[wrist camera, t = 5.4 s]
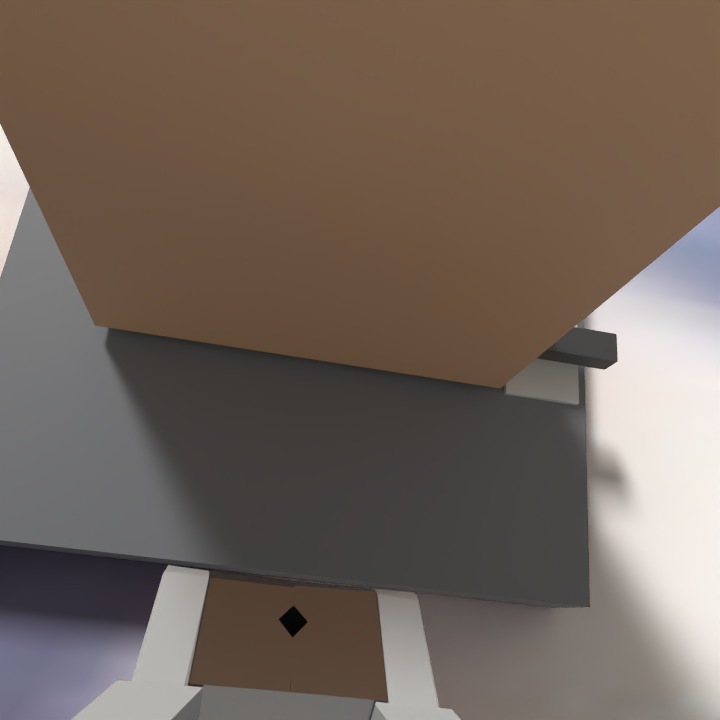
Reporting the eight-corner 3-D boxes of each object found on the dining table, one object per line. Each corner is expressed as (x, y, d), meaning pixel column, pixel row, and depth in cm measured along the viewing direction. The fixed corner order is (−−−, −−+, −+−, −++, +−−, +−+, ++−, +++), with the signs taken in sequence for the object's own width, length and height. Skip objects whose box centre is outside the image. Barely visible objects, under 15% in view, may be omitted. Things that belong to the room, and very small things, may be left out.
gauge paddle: (601, 404, 14) (1294, 14, 5) (94, 325, 13) (-249, -407, 4) (597, 317, 15) (1197, -165, 6) (118, 234, 14) (-117, -571, 4)
